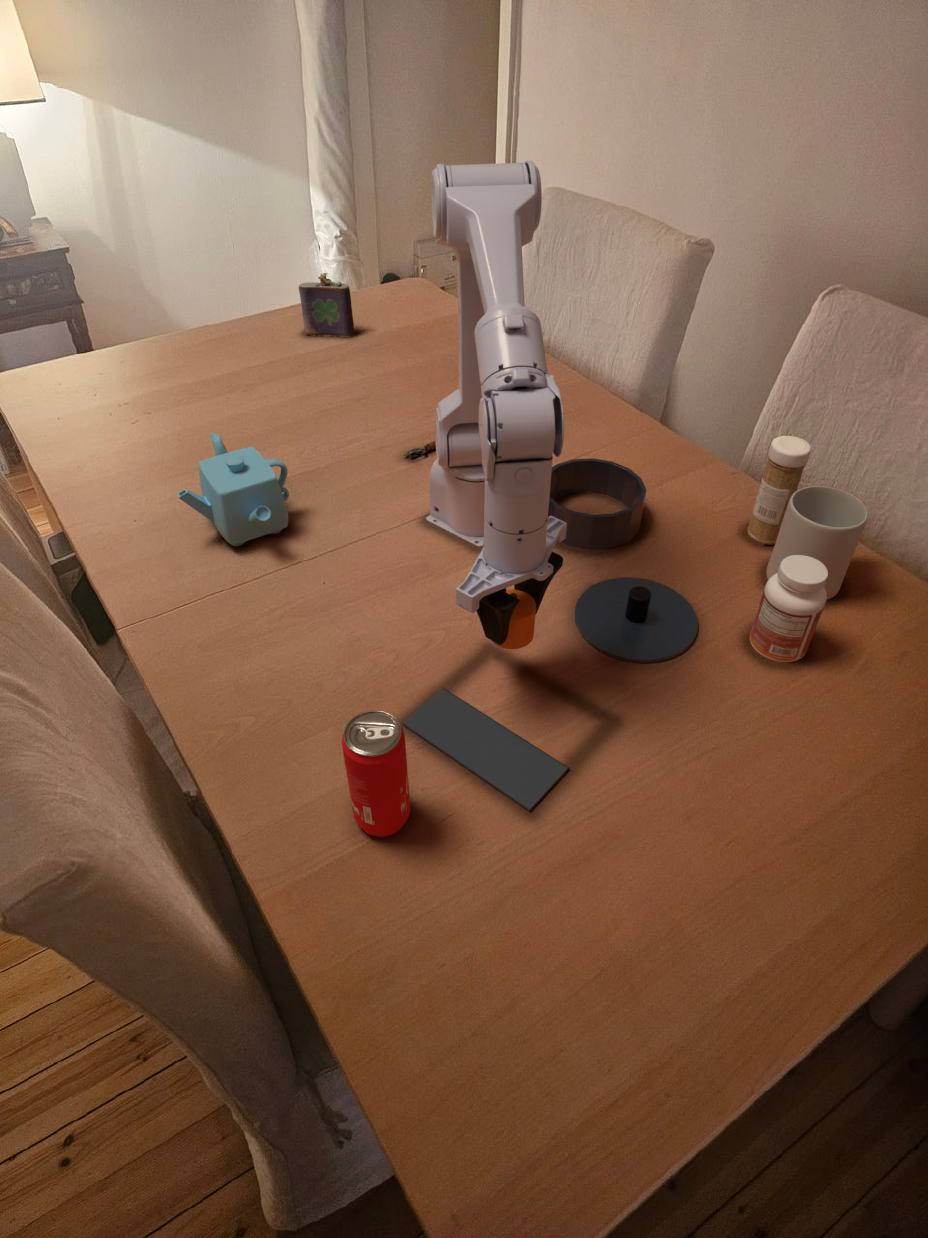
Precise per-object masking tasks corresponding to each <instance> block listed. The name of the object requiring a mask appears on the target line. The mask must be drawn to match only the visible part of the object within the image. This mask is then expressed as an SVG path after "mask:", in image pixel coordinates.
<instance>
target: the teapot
mask: <svg viewBox="0 0 928 1238" xmlns="http://www.w3.org/2000/svg"><path fill="white" fill-rule="evenodd" d="M210 439H211V441H212V444H213V448H214V449H213V450H214V456H211V457H208V458H205V459H201V460H200V461H198V473H199V475H198V476H199V482H200V489H201V495H200V494H198V493H195V492H193V491H191V490H188V489H187V488H184V489H181V490H180V491H178V492H177V493H176V494H175V495H176V496H177V497H178V498H179V500H181V501H182V502H183V503H185V504H187V505H188V506H189V507H191V508H192V509H193V510H194V511H196V512H198V513H199V514H201V515H202V516H204V517H205V518H206V519H208V520H209V521H210V522H212V524H213V525H214V527H215V529H217V531H218V532H219V534H220V535H221V536H222V538H224V540H225V541H226V542H227V543H228V544H229V545H231V546H233V547H240V546H242V545H244V544H245V543H246V542H248V541H251V540H254V539H258V538H261V537H263V536H266V535H276V534H279V533H281V532H282V530H283V529H285V528H287V527H288V526H289V525H288V524H289V513H288V509H287V504H286V501H287V500H288V499H289V497H290V492H289V490H288V488H287V487H284V486H285V483H286V481H287V478H288V467H287V465H286V464H285V462H283V460H282V461H281V460H280V459H277V458H269V459H266V458H264V456H263V455H262V454H261V452H259V451H258V450H257V449H256V448H255V447H253V446H247V447H244V448H239V449H236V450H232V451H229V452H228V450H227V448H226V446H225V443H224V442H223V440H222V437H221V436H220V434H218V432H211V433H210ZM272 467H279V468H280V473H279V477H277V474H276V473H275V471H274V470H273V468H272Z"/></svg>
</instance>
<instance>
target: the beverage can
mask: <svg viewBox="0 0 928 1238" xmlns="http://www.w3.org/2000/svg"><path fill="white" fill-rule="evenodd" d="M406 746H407V745H406V734H405V731H404V729H403V727H402V726H401V724H400V722H399V720H398V719H397V718H396V717H395V716H393V715H392V713H391V714H390V713H389V712H387V711H382V710H368V711H363V712H361V713H359V714H357V715H355V716H354V717H352V718H351V719H350V720H349V721H348V722H347V724H346V726H345V728H344V730H343V734H342V736H341V748H342V753H343V760H344V761H343V762H344V766H345V771H346V772H345V773H346V779H347V784H348V791H349V797H350V804H351V809H352V810H351V811H352V815H353V819H354V821H355V823H356V825H358V827H359V828H361V829H362V830H363V831H364V833H366V834H368V835H370V836H372V837H374V838H375V837H377V838H386V837H390V836H392V835H395V834H396V833H398V832H399V831H400V830H401V829H403V827H404V826H405V824H406V822H407V821H408V819H409V817H410V813H411V797H410V782H409V772H408V771H409V770H408V759H407V747H406Z"/></svg>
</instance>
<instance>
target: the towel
mask: <svg viewBox="0 0 928 1238" xmlns="http://www.w3.org/2000/svg"><path fill="white" fill-rule="evenodd" d="M402 726H404V727H405V728H406V729H408V730H410V731H411V732H412V733H414V734H415V735H416V736H418V737H420V738H421V739H422V740H424V741H425V742H427V743H428V744H429V745H431V746H433V747H434V748H435V749H437V750H439V751H440V752H441V753H443V754H444V755H446V756H447V757H449V758H450V759H451V760H453V761H455V762H456V763H458V764H459V765H460V766H462V767H463V768H465V769H466V770H467V771H469V772H470V773H472V774H474V775H475V776H476V777H478V778H479V779H480V780H482V781H483V782H485V783H487V785H489V786H491V787H493V788H494V789H496V791H498V792H500V793H501V794H503V795H504V796H506V797H507V798H508V799H510V800H511V801H513V802H514V803H516V804H517V805H519V806H520V807H521V808H523V809H525V810H526V811H527V812H531V811H532V810H533V809H534V808H535V807H536V806H537V805H538V803H540V801H541V800H542V799H543V798H544V797H545V796H546V795H547V794H548V792H549V791H550V790H551V789H552V788H553V787H554V786H555V785H556V784H557V783H558V782H559V780H561V778H562V777H563V776H564V775H565V774H566V773H567V772H568V771H569V770H570V767H569V766H567V765H565V764H564V763H562V762H561V761H560V760H558V759H556V758H554V757H553V756H551V755H550V754H548V753H547V752H545V750H544V751H543V750H542V749H541V748H539V747H537V746H536V745H534V744H532V743H531V742H529V741H528V740H526V739H525V738H523V737H522V736H520V735H519V734H517V733H516V732H513V731H512V730H510V729H509V728H508V727H506V726H504V725H503V724H501V723H500V722H498V721H496V720H495V719H493V718H491V717H490V716H489V715H487V714H485V713H484V712H483V711H481V710H479V709H478V708H476V707H475V706H473V705H471V704H470V703H468V702H467V701H465V700H464V699H462V698H460V697H459V696H457V695H455V694H454V693H452V692H451V691H449V690H448V689H446V688H445V687H442V688H441V689H440V690H438V691H437V692H436V693H435V694H434V695H433V696H431V697H430V698H429V699H428V700H427V701H426V702H425V703H423V704H422V705H421V706H420V707H418V709H416V710H415V711H414V712H413V713H412V714H411V715H410V716H408V717H407V718H406V719H405V720H404V721H402Z"/></svg>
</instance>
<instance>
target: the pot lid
mask: <svg viewBox="0 0 928 1238" xmlns="http://www.w3.org/2000/svg"><path fill="white" fill-rule="evenodd" d="M574 622H575V626H576V628H577V631H578V632H579V634H580V636H581V637H583V639H584V640H585V641H586V642H587V643H588V644H589V645H590V646H592V647H593V648H594V649H596V650H597V651H599V652H601V653H603V654H604V655H607V656H609V657H611V658H614V659H617V660H621V661H625V662H631V663H637V664H639V663H640V664H653V663H659V662H665V661H668V660H671V659H674V658H676V657H678V656H681V654H683V653H684V652H686V651H687V650H688V649H689V648H690V647H691V646H692V644H693V643H694V642H695V640H696V637H697V633H698V630H699V621H698V617H697V613H696V611H695V609H694V607H693V606H692V604H690V602H689V601H688V600H687V599H686V597H684V596H683V595H682V594H681V593H679V592H678V591H676V590H675V589H673V588H671V587H670V586H667V585H665V584H663V583H661V582H658V581H655V580H651V579H647V578H640V577H631V576H630V577H627V576H626V577H625V576H624V577H614V578H609V579H606V580H601V581H599V582H597V583H595V584H593V585H591V586H590V587H588V588H587V589H585V591H583V592H582V594H581V595H580V596H579V598H578V599H577V601H576V604H575V609H574Z"/></svg>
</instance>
